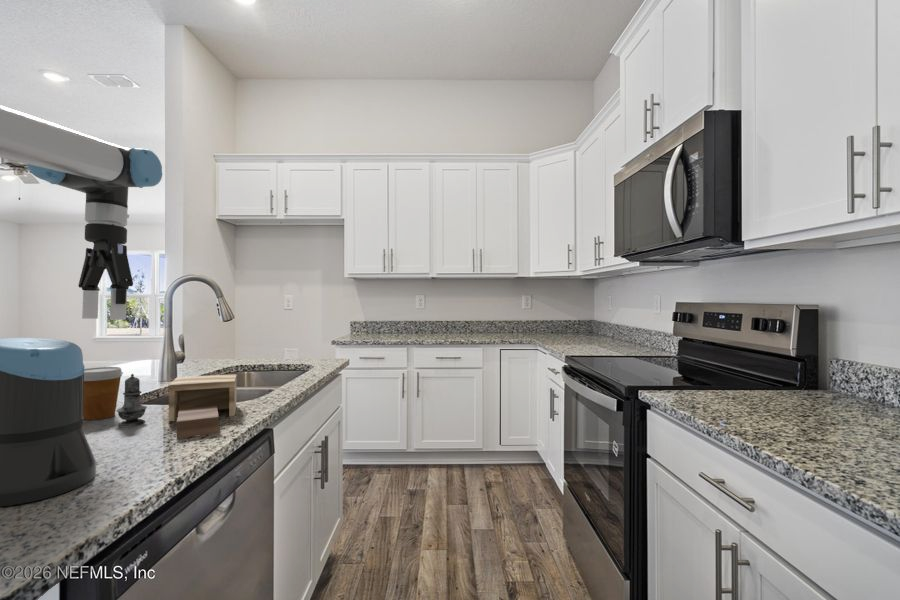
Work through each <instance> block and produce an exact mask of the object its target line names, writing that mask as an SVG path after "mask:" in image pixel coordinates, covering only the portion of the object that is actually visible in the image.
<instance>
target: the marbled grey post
mask: <svg viewBox="0 0 900 600" xmlns="http://www.w3.org/2000/svg"><path fill="white" fill-rule="evenodd" d="M140 385H141V384H140V379H139V378H138V377H135V374H134V373H132V374H130V377H128V378H126V379H125V381H124V391H123V393H122V395H124V396H123V398H124V401H123V405H122V406H121V407H120V408H118V409H116V412H117V413H118V417H119V418H120V419H121V420H123V421H121V422H120V423H118V425H117V426H118V427H121V426H129V427H135V426H139V425H140V426H141V425H142V424H145V423H146V420H144V419H142V418H143V416H144V415H145V412H146V409H147V408H148V407H147V406H146V405H143V404H142V403H141V399H140V398H141V393H142V391H141V389H140ZM144 422H145V423H144Z"/></svg>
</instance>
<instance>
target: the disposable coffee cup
mask: <svg viewBox="0 0 900 600" xmlns="http://www.w3.org/2000/svg"><path fill="white" fill-rule="evenodd" d="M84 369H85V370H84V393H83V420H84V419H86V420H85V421H97V419H98V420H103V419H108V418H111V417H114V416H115V414H116V411H117V409H116V408H117V403H118V396H119V389H120V384H121V378H122V376H123V374H124V372H123V371H122V368H121V367H120V366H101V367H100V366H99V367H91V368H90V367H89V368H84Z"/></svg>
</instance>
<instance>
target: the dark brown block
mask: <svg viewBox="0 0 900 600" xmlns="http://www.w3.org/2000/svg"><path fill="white" fill-rule="evenodd" d="M218 410H219V409H217V405H215V406H205V407H195V408H185V409H179V412H178V417H177V418H176V439H181V438H182V439H183V438H190V436H192V437H198V436H197V435H200V436H206V435H207V434H208V435H214V434H219V431H220V429H219V428H220V427H219V426H220V425H219V421H220V420H219V418H220V417H219V411H218Z"/></svg>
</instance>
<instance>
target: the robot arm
mask: <svg viewBox="0 0 900 600" xmlns="http://www.w3.org/2000/svg"><path fill="white" fill-rule="evenodd" d="M0 158H1V159H5V160H9V161H14V162H17V163H20V164H21V163H22V164H26V165H27V168H28V170H29V172H30V173H31V174H32V175H33V176H34V177H36V178H37V179H39V180H43V181H45V182H46V183H50V184H51V185H56V186H59V187H64V188H68V189H70V190H74V191H76V192H77V191H78V192H80V193H84V194H85V204H84V205H85V209H84V221H85V222H86V223H87V224H85V226H84V240H85V241H87V242H88V243H93V247H86V248H85V257H84V262H83V264H82V270H81V274H80V277H79V280H78V281H79V282H78V288H81V290H82V313H81V315H82V316H81V317H82V318H81V319H83V320H84V319H85V320H86V319H88V320H89V319H93V320H97V319H98V318H99V294H100V293H99V292H100V291H101V289H100V287H99V284H100V283H101V282H100V281H101V279H102V277H103V275H104V272H105V271H106V272H107V274H108V276H109V279H110V282H111V285H110V286H109V289H110V302H109V303H110V307H109V308H110V309H109V320H111V321H112V320H118V321H119V320H122V321H123V320H127V301H128V300H127V299H128V298H127V297H128V295H127V294H128V293H127V292H128V290H129V288H130V287H133V286H134V281H133V276H132V272H131V267H130V262H129V258H128V247H127V245H126V244H127V241H128V229H127V228H126V226H127V225H128V219H129V218H130V215H129V214H128V207H129V206H128V203H129V201H128V199H129V188H140V189H142V188H151V187H156V186H157V185H159V184H160V182H161V181H162V178H163V166H162V163H161V160H160V159H159V157H158V155H157V154H156V153H155V152H153V151H152V150H150V149H147V148H142V147H141V148H139V147H131V148H129V147H123V146H121V145H118V144H115V143H111V142H107V141H104V140H103V139H99V138H97V137H94V136H91V135H87V134H85V133H81V132H79V131H76V130H73V129H70V128H67V127H64V126H61V125H59V124H57V123H54V122H50V121H47V120H44V119H41V118H39V117H36V116H33V115H30V114H28V113H24V112H21V111H18V110H15V109H12V108H10V107H6V106H4V105H1V104H0ZM82 351H83V350H82V348H81V347H80V346H79V345H77V344H76V343H74V342H71V341H67V340H63V339H56V338H55V339H54V338H44V337H42V338H38V337H37V338H35V337H7V338H6V337H5V338H0V508H1V507H8V506H9V507H10V506H16V505H23V504H27V503H28V504H29V503H32V502H37V501H42V500H44V499H48V498H52V497H55V496H58V495H62V494H64V493H67V492H70V491H72V490H75V489H78V488H80V487H82V486H85V484H87V483H89V482H90V481H92V480H93V479H94V478H95V477H96V475H97V471H96V470H97V462H96V459H95V456H94V454H93V451H92V449H91V446H90V445H89V442H88V439H87V438H86V435H85V433H84V430H83V427H84V426H83V424H84V423H83V422H84V421H83V420H84V419H83V393H84V370H85V369H86V368H85V364H84V358H83V355H84V354H83V352H82Z"/></svg>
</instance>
